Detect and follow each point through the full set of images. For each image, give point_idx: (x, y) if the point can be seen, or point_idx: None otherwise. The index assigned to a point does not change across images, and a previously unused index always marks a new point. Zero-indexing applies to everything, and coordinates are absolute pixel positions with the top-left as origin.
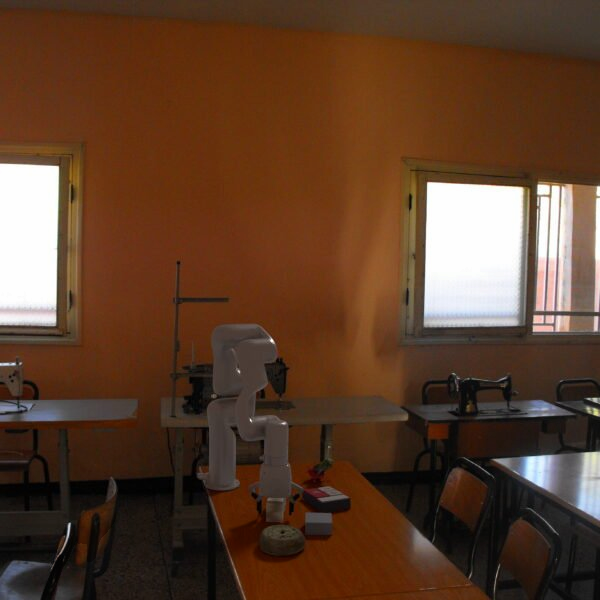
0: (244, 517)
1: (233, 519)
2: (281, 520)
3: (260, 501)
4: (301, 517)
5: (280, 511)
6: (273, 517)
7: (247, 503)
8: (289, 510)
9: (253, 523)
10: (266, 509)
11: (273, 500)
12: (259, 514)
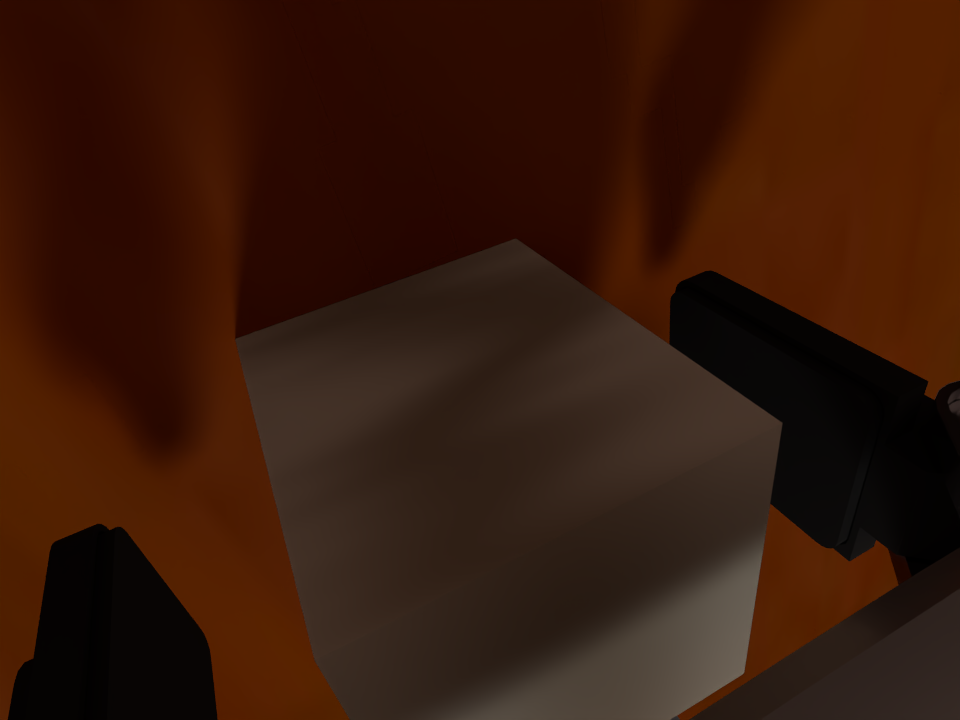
0: (803, 251)
1: (923, 124)
2: (252, 354)
3: (884, 446)
4: (13, 680)
5: (314, 455)
6: (426, 320)
7: (771, 567)
8: (101, 618)
9: (689, 76)
10: (653, 335)
11: (629, 650)
12: (687, 281)
